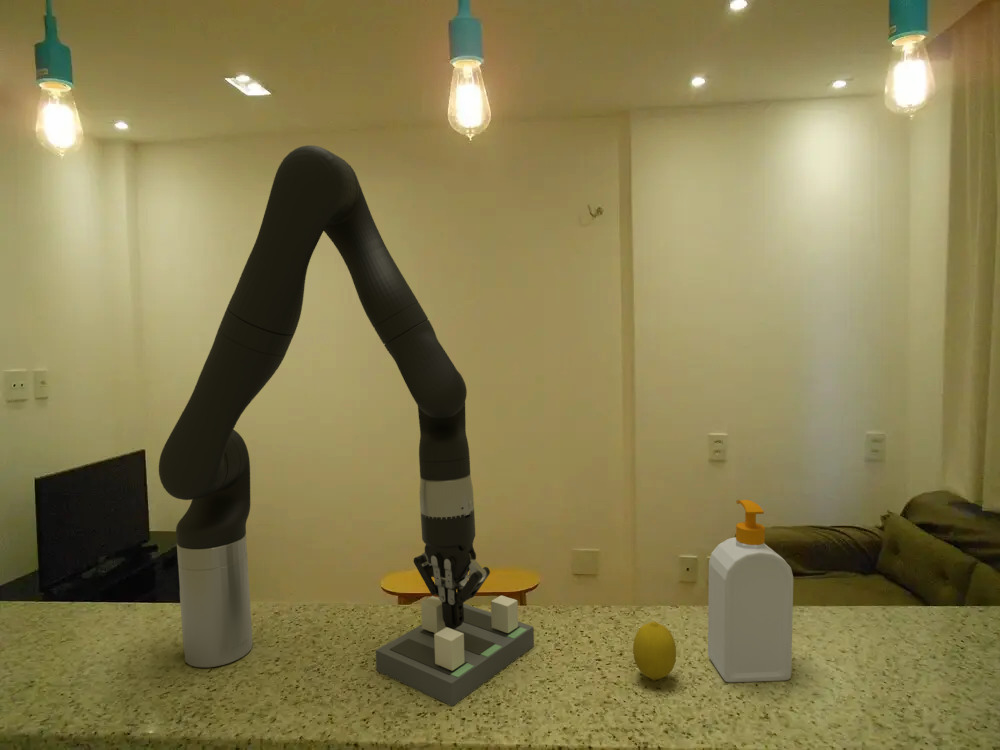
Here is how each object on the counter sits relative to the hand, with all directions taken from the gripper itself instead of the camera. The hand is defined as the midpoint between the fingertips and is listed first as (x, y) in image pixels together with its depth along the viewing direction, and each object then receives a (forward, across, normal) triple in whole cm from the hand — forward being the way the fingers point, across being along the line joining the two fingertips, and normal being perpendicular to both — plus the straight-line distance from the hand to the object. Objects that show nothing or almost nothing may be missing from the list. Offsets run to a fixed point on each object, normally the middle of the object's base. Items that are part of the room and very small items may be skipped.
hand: (453, 625), depth 92 cm
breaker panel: (+5, 0, 0) cm, 5 cm away
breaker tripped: (+1, -4, 0) cm, 4 cm away
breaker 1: (+1, +4, -6) cm, 8 cm away
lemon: (+6, +25, +11) cm, 28 cm away
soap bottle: (+6, +34, +21) cm, 41 cm away
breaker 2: (+2, +4, +6) cm, 8 cm away
